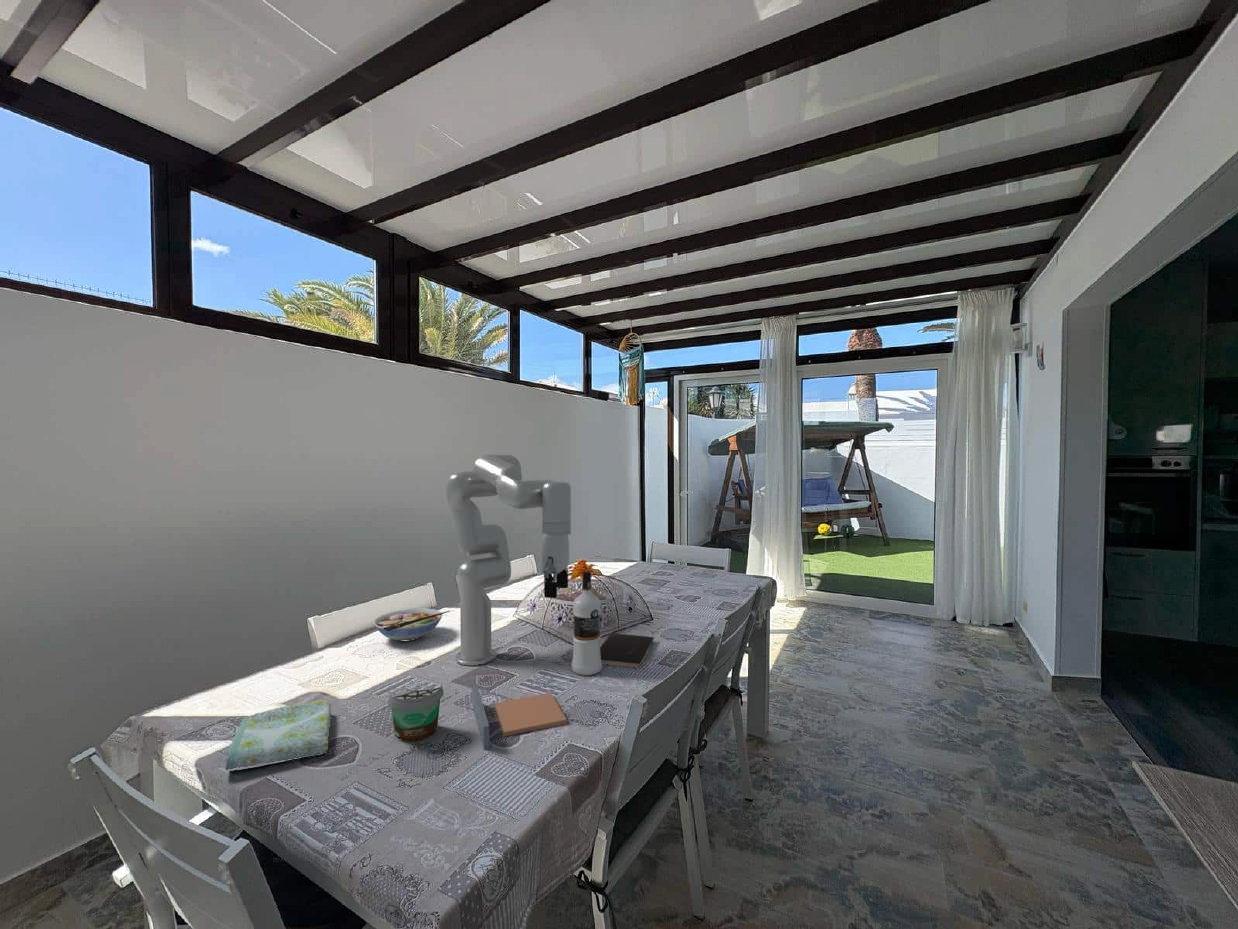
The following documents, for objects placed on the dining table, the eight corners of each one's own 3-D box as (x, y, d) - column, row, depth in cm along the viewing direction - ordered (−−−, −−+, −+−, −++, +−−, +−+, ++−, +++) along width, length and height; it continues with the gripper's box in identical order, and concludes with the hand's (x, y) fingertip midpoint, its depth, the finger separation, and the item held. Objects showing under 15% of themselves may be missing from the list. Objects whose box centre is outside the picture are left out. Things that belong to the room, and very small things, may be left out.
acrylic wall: (472, 704, 133) (472, 685, 133) (477, 703, 133) (477, 684, 133) (483, 749, 112) (483, 726, 112) (489, 748, 113) (489, 725, 113)
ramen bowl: (421, 622, 198) (421, 601, 198) (458, 634, 185) (458, 612, 185) (357, 641, 178) (357, 618, 178) (393, 656, 164) (393, 631, 164)
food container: (389, 750, 112) (389, 705, 112) (387, 737, 117) (387, 694, 117) (447, 736, 117) (447, 693, 117) (443, 724, 123) (443, 683, 123)
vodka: (592, 661, 161) (592, 567, 160) (607, 671, 153) (607, 572, 152) (566, 668, 155) (566, 570, 155) (580, 679, 148) (580, 576, 147)
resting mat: (494, 706, 131) (494, 703, 131) (550, 696, 137) (550, 692, 137) (504, 736, 117) (504, 732, 117) (566, 723, 123) (566, 719, 123)
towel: (332, 713, 129) (332, 693, 129) (328, 758, 110) (327, 734, 110) (244, 731, 120) (244, 710, 120) (223, 782, 101) (222, 757, 101)
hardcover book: (654, 643, 178) (654, 637, 178) (639, 670, 155) (639, 662, 155) (610, 639, 182) (610, 633, 182) (590, 664, 159) (590, 657, 159)
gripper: (553, 523, 144) (553, 583, 144) (531, 532, 127) (531, 600, 127) (579, 524, 143) (579, 585, 143) (560, 533, 126) (560, 602, 126)
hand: (556, 592), depth 135 cm, fingers open, 9 cm apart
